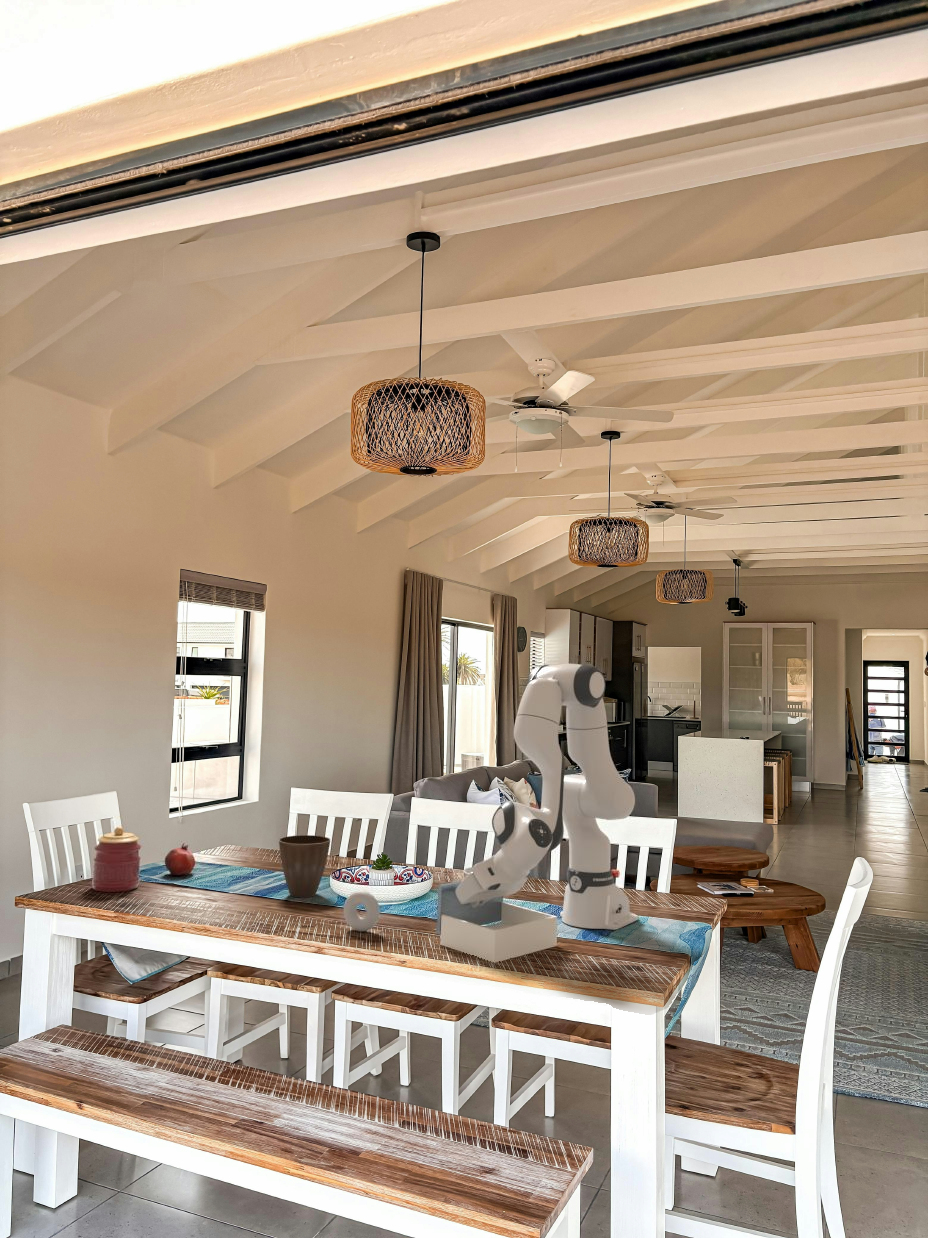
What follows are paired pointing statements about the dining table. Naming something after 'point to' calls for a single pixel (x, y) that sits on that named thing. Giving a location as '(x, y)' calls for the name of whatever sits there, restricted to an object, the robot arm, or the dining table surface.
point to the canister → (116, 862)
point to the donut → (371, 909)
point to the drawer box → (501, 934)
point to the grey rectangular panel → (466, 907)
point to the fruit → (180, 861)
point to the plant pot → (303, 862)
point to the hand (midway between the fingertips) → (475, 904)
